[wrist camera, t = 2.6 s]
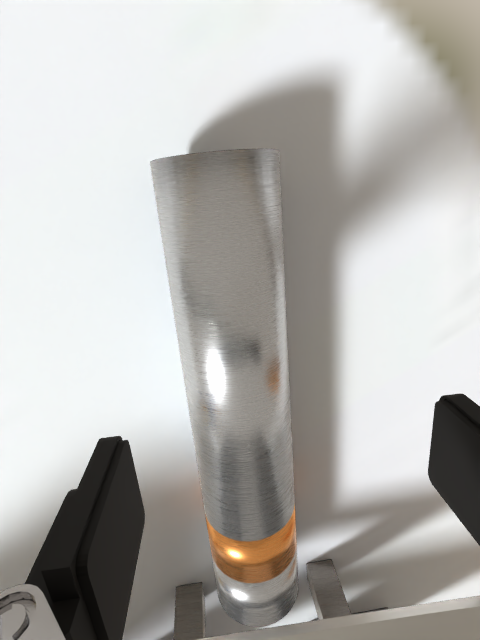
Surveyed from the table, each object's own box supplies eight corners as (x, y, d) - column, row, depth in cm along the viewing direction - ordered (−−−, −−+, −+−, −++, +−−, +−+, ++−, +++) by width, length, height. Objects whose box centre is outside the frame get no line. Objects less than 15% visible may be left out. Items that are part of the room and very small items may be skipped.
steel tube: (157, 166, 16) (140, 157, 12) (267, 156, 17) (292, 144, 12) (215, 549, 25) (219, 634, 20) (288, 538, 25) (308, 618, 20)
